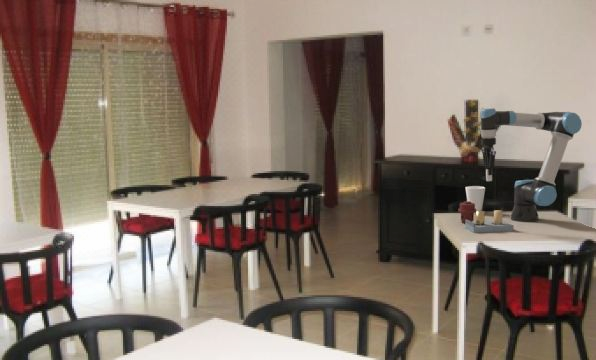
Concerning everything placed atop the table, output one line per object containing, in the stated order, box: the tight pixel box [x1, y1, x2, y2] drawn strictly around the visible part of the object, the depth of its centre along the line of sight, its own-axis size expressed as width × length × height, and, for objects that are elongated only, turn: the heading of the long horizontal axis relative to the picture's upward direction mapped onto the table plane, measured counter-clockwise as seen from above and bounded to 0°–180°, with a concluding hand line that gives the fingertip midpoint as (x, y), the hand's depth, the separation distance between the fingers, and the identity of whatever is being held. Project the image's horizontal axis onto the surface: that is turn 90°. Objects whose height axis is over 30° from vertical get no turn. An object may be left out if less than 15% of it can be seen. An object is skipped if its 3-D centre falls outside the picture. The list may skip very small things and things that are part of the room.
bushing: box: [475, 210, 486, 226], centre depth 338 cm, size 4×4×10 cm
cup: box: [465, 185, 486, 215], centre depth 386 cm, size 12×12×16 cm
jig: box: [464, 209, 514, 234], centre depth 338 cm, size 22×12×10 cm, turn 96°
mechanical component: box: [457, 200, 476, 224], centre depth 356 cm, size 12×10×10 cm
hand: (489, 180), depth 339 cm, fingers closed
